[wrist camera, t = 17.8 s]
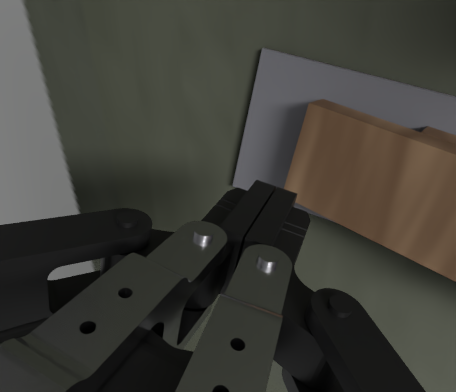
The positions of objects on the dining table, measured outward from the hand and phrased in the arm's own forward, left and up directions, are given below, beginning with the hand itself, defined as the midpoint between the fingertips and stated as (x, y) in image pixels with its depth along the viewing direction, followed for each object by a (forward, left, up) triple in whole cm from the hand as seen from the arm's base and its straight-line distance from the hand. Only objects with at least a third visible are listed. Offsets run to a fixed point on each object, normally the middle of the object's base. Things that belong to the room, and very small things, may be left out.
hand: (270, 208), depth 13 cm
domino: (0, 0, -7) cm, 7 cm away
